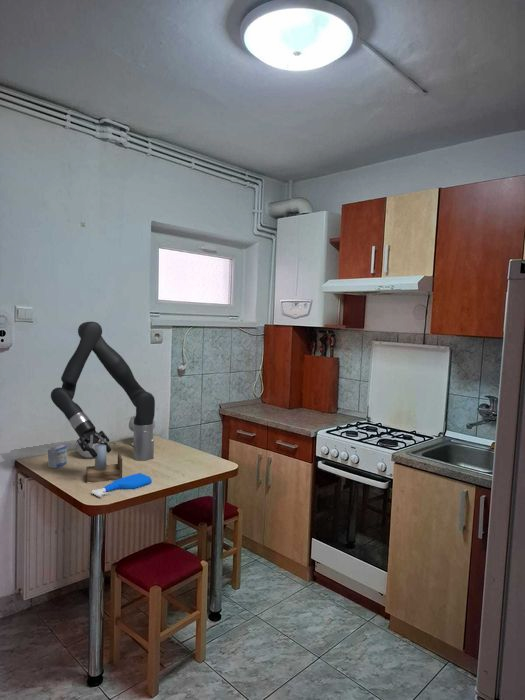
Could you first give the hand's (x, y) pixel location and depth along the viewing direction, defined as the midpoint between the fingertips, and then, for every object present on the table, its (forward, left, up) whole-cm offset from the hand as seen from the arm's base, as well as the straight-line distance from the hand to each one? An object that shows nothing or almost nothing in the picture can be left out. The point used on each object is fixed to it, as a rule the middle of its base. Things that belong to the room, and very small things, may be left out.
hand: (103, 454), depth 204 cm
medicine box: (+18, -25, -11) cm, 33 cm away
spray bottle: (-6, +14, -11) cm, 19 cm away
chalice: (-24, -51, -11) cm, 57 cm away
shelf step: (-1, -1, -11) cm, 11 cm away
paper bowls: (+2, -37, -11) cm, 39 cm away
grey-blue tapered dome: (+1, -1, -7) cm, 7 cm away
